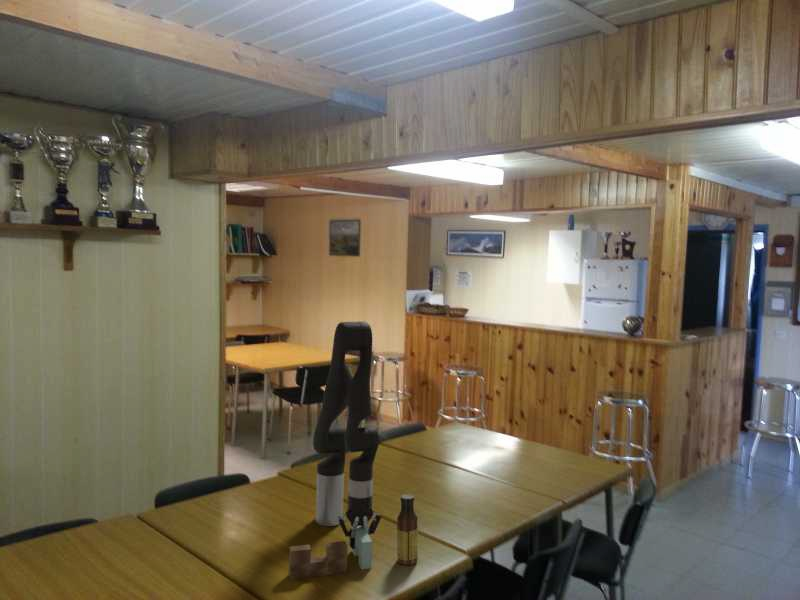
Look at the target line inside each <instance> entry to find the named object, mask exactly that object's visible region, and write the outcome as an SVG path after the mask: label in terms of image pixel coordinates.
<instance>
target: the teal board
mask: <svg viewBox="0 0 800 600" xmlns="http://www.w3.org/2000/svg"><path fill="white" fill-rule="evenodd" d="M351 552H352V554H353V556H354V557H358V566H359V568H360V570H367V569H368V570H369V569H372V564H373V563H372V559H373V539H372V538H371V537H370V535H368V533H367V532H366V530H364V528H363V526H357V530H356V531H355V549H354V550H352V549H351Z"/></svg>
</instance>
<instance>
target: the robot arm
mask: <svg viewBox="0 0 800 600" xmlns="http://www.w3.org/2000/svg"><path fill="white" fill-rule="evenodd" d="M372 330H373V329H372V326H371V324H369V323H368V322H367V321H341V322H339V323H338V324H337V325H336V327H335V330H334V335H333V343H332V351H331V361H330V365H329V372H328V373H327V374H328V375H327V377H326V378H327V379H326V383H325V388H324V392H323V399H322V403H321V410H320V413H319V415H318V418H317V419H318V420H317V423H316V425H315V428H314V432H313V439H312V445H313V449H314V452H316V453H317V454H320V455H321V454H325V455H326V454H330V455H329V456H328V457H326V458H325V459H323V460H321V461H319V462H318V464H317V466H316V467H317V468H316V495H315V496H316V498H315V500H316V501H315V523H316V524H317V525H319V526H321V527H322V526H323V527H335V526H338V525H340V527H341V529H342V532H343V534H344V535H345V536H344V537H347V538H348V537H349V541H348V542H349V547H350V549H351V551H352V550H354V549H355V531H356V530H357V526H363V528H364V530H366V532H367V533H368V535H369V536H370V535H373V534H375V532H376V530H377V527H378V526H379V523H380V522H381V519H382V516H381V515H380V513H379V512H374V511H373V494H374V493H373V492H374V488H373V487H374V484H373V466H374V463H375V459H376V455H377V452H378V449H379V445H380V433H379V431H378V430H377V429H376V427H374V426H363V427H360V423H361V422H362V421H365V420H368V419H370V418H371V417H372V401H371V400H372V399H371V398H372V397H371V374H372V373H371V372H372V359H373V358H372V356H373V355H372V354H373V331H372ZM347 352H359V360H358V361H359V362H358V365H357V368H356V371H355V373H354V375H352V372H351V371H350V369H349V368H348V366H347V364H346V355H347ZM346 409H348V415H347V416H348V417H347V424H346V428H345V426H344V425H342V424H335V425H333V423H334V422H335V420H336V419H337V418H338V417H339V416H340V415H341V414H342V413H343V412H344V411H345V410H346ZM347 450H348V451H349V452H351V453H357V452H358V453H359V452H362V453H361V454H360V455H358V456H355V457H354V458H352V459H351V460H350V462H349V474H348V475H349V477H348V485H347V506H346V507H347V510H346V512H345V514H344V490H345V489H344V488H345V486H344V482H345V480H344V479H345V467H346V466H345V465H346V453H347ZM371 519H372V521H371V522H370V520H371ZM347 520H348V522H349V523H350V524H349V530H348V529H347V526H346V522H347ZM369 522H370V524H368V523H369ZM369 525H370V526H369Z"/></svg>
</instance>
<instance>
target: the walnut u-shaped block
mask: <svg viewBox="0 0 800 600" xmlns="http://www.w3.org/2000/svg"><path fill="white" fill-rule="evenodd" d="M325 545H326V548H325V552H326V553H325V556H319V557H312V556H311V554H312V552H311V551H312V549H311V545H310V544H302V545H292V546H289V560H288V563H289V565H288V569H289V570H288V571H289V572H288V575H289V578H290V580H297V579H307V578H312V577H313V578H314V577H321V576H330V575H338V574H340V575H341V574H345V573H346V574H347V572H348V543H347V541H345V540H340V541H331V542H326V543H325Z"/></svg>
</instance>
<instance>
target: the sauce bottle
mask: <svg viewBox="0 0 800 600" xmlns="http://www.w3.org/2000/svg"><path fill="white" fill-rule="evenodd" d="M400 502H401V503H400V505H401V508H400V512H399V513H398V515H397V518H396V519H397V520H396V521H397V525H396V544H397V545H396V554H397V562H398V563H399V564H401V565H404V564H405V566H411V565H415V564H417V563H418V559H419V558H418V556H419V532H418V531H419V530H418V529H419V527H418V526H419V525H418V516H417V515H416V513H415V510H414V507H415V506H414V505H415V504H414V502H415V497H414V495H413V494H410V493H409V494H406V493H405V494H402V495H401V496H400Z"/></svg>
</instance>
